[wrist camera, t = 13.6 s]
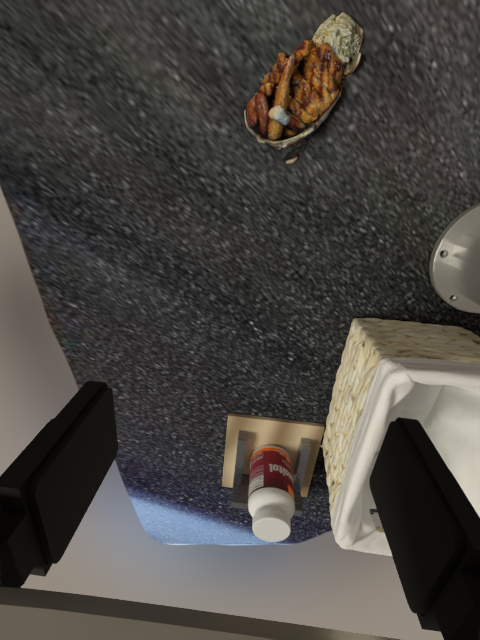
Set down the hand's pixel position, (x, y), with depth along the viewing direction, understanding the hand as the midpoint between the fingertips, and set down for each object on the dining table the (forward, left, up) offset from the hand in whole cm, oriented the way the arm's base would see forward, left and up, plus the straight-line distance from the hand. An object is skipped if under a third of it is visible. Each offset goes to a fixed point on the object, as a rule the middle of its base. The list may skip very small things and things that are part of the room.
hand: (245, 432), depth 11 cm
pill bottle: (-5, +31, -28) cm, 42 cm away
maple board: (-5, +31, -28) cm, 42 cm away
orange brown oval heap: (-2, -16, -29) cm, 33 cm away
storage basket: (-19, +17, -29) cm, 39 cm away
